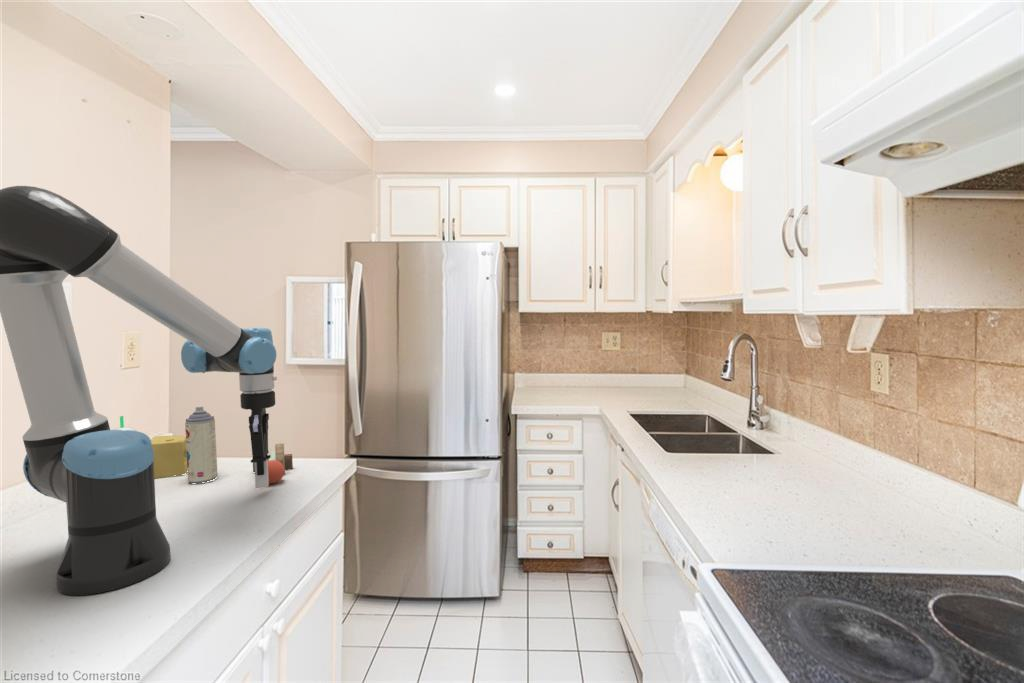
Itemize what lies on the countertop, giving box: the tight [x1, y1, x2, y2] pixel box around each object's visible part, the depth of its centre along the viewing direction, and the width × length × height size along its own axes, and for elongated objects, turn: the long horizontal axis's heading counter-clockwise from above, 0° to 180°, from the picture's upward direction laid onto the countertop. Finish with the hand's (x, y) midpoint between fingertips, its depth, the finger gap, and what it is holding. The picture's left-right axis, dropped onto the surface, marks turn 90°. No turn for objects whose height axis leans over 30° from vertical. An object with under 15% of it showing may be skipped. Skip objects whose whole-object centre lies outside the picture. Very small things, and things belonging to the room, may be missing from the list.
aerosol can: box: [184, 406, 219, 484], centre depth 133 cm, size 7×7×20 cm
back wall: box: [252, 453, 294, 473], centre depth 141 cm, size 2×10×4 cm, turn 109°
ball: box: [268, 460, 285, 485], centre depth 130 cm, size 6×6×6 cm
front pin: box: [268, 449, 276, 461], centre depth 137 cm, size 2×2×8 cm
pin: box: [274, 443, 286, 476], centre depth 137 cm, size 2×2×8 cm
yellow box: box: [150, 435, 188, 479], centre depth 141 cm, size 10×11×10 cm
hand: (262, 486), depth 121 cm, fingers closed
